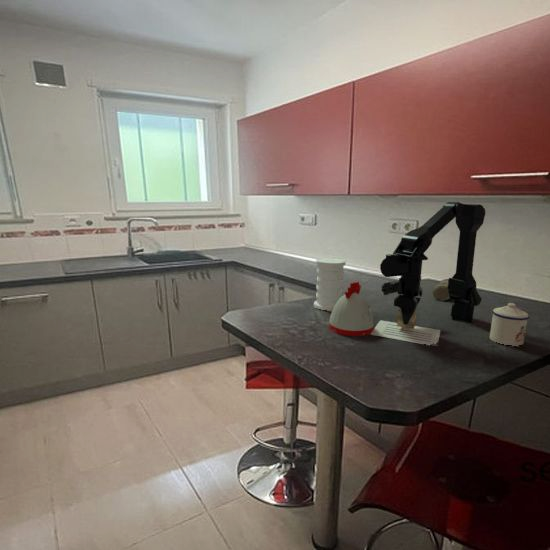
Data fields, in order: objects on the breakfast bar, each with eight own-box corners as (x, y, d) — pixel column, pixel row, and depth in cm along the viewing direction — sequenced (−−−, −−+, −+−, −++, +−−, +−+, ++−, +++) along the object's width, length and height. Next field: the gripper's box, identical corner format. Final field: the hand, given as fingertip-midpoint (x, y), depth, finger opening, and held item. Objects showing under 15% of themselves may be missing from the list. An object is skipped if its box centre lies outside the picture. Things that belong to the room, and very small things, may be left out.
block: (415, 324, 118) (417, 309, 117) (413, 328, 114) (415, 313, 113) (399, 321, 121) (400, 306, 120) (396, 326, 116) (398, 311, 115)
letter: (440, 330, 117) (440, 330, 117) (436, 346, 104) (437, 346, 104) (380, 320, 126) (380, 320, 125) (370, 334, 112) (370, 334, 112)
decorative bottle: (451, 302, 149) (452, 287, 148) (431, 300, 153) (432, 284, 152) (458, 289, 170) (460, 275, 169) (441, 287, 174) (442, 274, 173)
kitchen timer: (380, 327, 118) (384, 282, 115) (358, 339, 108) (361, 290, 105) (344, 318, 127) (346, 276, 124) (320, 328, 117) (322, 282, 114)
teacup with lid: (522, 350, 103) (528, 310, 100) (485, 341, 108) (491, 304, 106) (527, 338, 112) (533, 301, 109) (493, 330, 117) (498, 296, 115)
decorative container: (350, 308, 139) (353, 261, 135) (326, 313, 133) (328, 264, 129) (330, 300, 148) (332, 257, 145) (307, 304, 142) (309, 259, 139)
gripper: (390, 267, 125) (386, 310, 129) (378, 277, 109) (374, 326, 113) (424, 270, 120) (420, 315, 124) (418, 281, 104) (412, 332, 108)
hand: (406, 321), depth 117 cm, fingers closed on block, 5 cm apart
